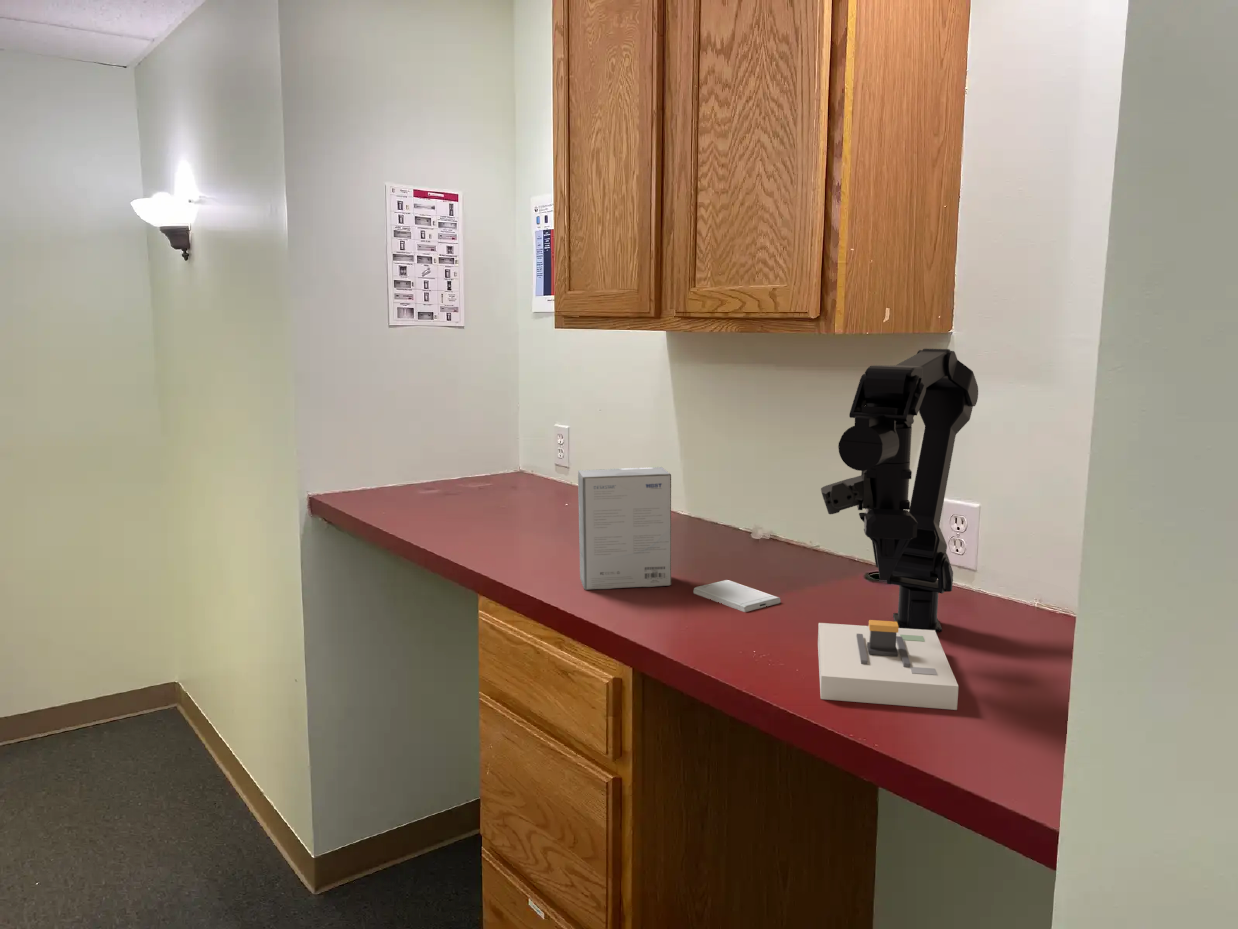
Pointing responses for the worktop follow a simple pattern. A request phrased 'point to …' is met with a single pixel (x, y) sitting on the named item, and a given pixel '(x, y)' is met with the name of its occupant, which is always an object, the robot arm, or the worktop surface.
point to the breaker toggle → (882, 638)
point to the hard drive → (736, 595)
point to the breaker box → (885, 668)
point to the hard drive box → (624, 527)
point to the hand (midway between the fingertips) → (881, 573)
